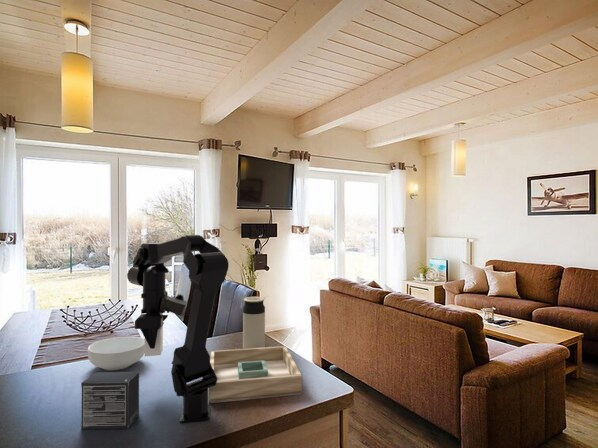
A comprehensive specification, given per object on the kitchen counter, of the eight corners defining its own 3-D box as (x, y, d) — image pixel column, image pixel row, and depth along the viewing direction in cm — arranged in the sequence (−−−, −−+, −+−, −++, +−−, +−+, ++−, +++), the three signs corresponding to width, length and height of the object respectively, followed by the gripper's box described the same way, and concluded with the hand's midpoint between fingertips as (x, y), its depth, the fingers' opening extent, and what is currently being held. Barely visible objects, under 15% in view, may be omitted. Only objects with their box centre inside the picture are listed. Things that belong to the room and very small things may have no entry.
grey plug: (160, 355, 98) (160, 325, 98) (144, 356, 97) (144, 326, 97) (162, 350, 102) (162, 321, 102) (147, 351, 101) (147, 322, 101)
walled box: (301, 394, 97) (301, 375, 97) (209, 403, 92) (209, 383, 92) (285, 360, 120) (285, 345, 120) (210, 366, 115) (211, 350, 115)
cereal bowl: (131, 377, 107) (132, 353, 107) (75, 377, 107) (75, 353, 107) (154, 356, 124) (154, 335, 124) (105, 355, 124) (105, 335, 124)
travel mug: (248, 353, 128) (248, 301, 128) (239, 346, 134) (239, 297, 134) (268, 348, 132) (268, 299, 132) (258, 342, 139) (258, 295, 139)
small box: (140, 414, 87) (140, 370, 87) (128, 429, 80) (128, 382, 80) (95, 414, 86) (95, 370, 86) (79, 430, 80) (80, 382, 80)
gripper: (181, 294, 92) (181, 355, 92) (187, 282, 110) (187, 333, 110) (134, 295, 90) (134, 359, 90) (148, 283, 108) (148, 336, 108)
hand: (153, 345), depth 99 cm, fingers closed on grey plug, 4 cm apart
